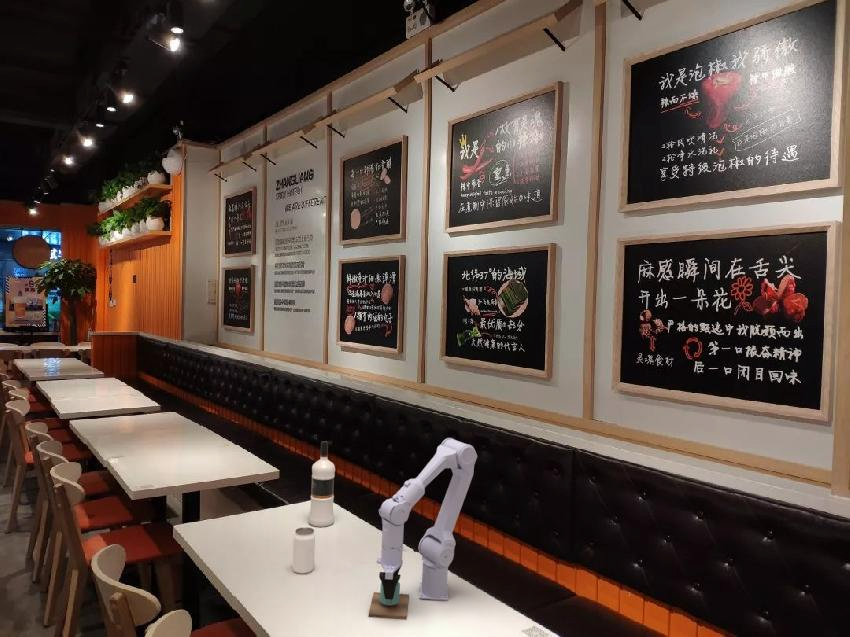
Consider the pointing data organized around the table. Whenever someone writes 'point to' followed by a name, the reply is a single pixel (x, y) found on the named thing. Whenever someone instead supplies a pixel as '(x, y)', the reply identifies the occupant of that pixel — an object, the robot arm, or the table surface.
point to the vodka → (322, 490)
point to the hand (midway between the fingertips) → (390, 593)
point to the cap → (395, 598)
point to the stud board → (389, 607)
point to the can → (303, 550)
